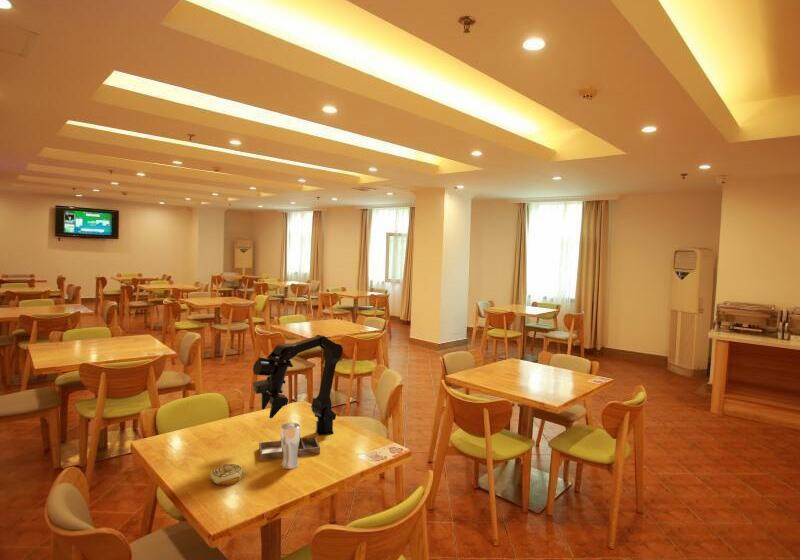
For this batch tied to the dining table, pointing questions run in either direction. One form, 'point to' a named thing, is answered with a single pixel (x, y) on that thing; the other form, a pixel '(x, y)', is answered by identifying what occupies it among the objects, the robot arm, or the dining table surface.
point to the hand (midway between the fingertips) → (266, 413)
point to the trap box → (275, 450)
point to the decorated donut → (226, 474)
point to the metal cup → (290, 444)
